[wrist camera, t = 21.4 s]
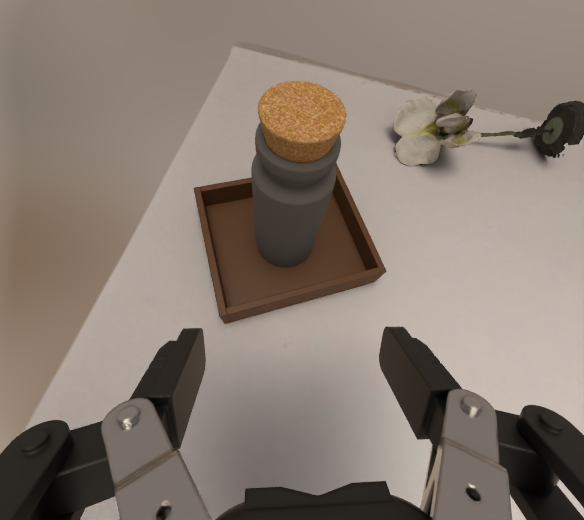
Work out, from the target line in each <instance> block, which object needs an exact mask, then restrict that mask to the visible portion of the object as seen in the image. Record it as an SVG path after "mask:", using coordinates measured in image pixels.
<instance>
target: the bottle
mask: <svg viewBox="0 0 584 520" xmlns="http://www.w3.org/2000/svg"><path fill="white" fill-rule="evenodd" d="M258 114H259V118H260V122H261V123H260V124H259V125H258V128H257V131H256V136H255V145H256V153H257V154H256V156H255V157H254V160H253V163H252V192H253V206H254V220H255V233H256V243H257V248H258V250H259V253H260V254H261V256H262V257H263V258H264V259H265V260H266V261H268V262H269V263H271V264H273V265H275V266H279V267H291V266H295V265H298V264H300V263H301V262H303V261H304V260H305V259H306V258H307V257H308V256H309V254H310V253H311V251H312V248H313V245H314V243H315V240H316V237H317V234H318V232H319V229H320V226H321V223H322V220H323V217H324V214H325V212H326V209H327V206H328V203H329V200H330V197H331V194H332V191H333V188H334V185H335V180H336V168H335V164H336V161H337V159H338V156H339V153H340V148H341V139H340V135H339V134H340V133H341V131H342V129H343V127H344V125H345V122H346V111H345V108H344V105H343V103H342V102H341V100H340V99H339V98H338V97H337V96H336V95H335V94H334V93H333V92H331V91H330V90H328V89H326V88H324V87H322V86H320V85H317V84H314V83H310V82H305V81H289V82H283V83H279V84H277V85H275V86H273V87H271V88H270V89H268V90H267V91H266V92H265V93H264V94H263V95H262V97H261V99H260V101H259V104H258Z"/></svg>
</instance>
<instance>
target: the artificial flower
mask: <svg viewBox="0 0 584 520" xmlns="http://www.w3.org/2000/svg"><path fill="white" fill-rule="evenodd" d="M475 98H476V94H475V92H473V91H472V90H468V91H460V90H455V91H454V92H452V93H451V94H450V95H449V96H448V97H446V98H445V99H444V100H442V102H441V103H440V104H439V105H438V106H437V107H436V105H435V103H433V102H432V100H430V99H428V98H426V97H422V98H420V99H418V100H416V101H406V102H405V103H404V105H403V106H401V107H400V108H399V109H398V110H397V112H396V115H395V118H394V122H393V128H394V130H395V131H396V133H397V134H399V135H401V137H402V138H401V139H400V140H399V141H398V143H397V144H396V146H395V148H396V153H395V157H396V158H397V157H398V158H399V161H400V162H401V163H402V164H404V165H408V166H414V165H418V164H432V163H434V162H435V161H436V160H437V158H438V157H439V152H440V148H441V145H444V146H445V147H449V148H456V147H459V146H466V145H468V144H471V143H474V142H476V141H478V140H479V139H480V138H481V137H487V136H505V135H513V136H514V137H518V138H520V139H521V138H527V137H533V136H535V140H534V141H535V143H536V144H539V148H540V149H541V153H542V154H544V155H547V156H549V157H550V156H553V158H555V157H556V155H557V154H558V158H559V156H560V154H559V153H561V152H562V151H563V150H564V149H565V147H564V146H563V145H564V144H565V143H568V145H576V144H579V143H580V140H581V139H582V138H583V135H584V103H582V102H580V101H572V102H567V103H562V104H559V105H557V106H556V107H554V109H553V110H552V111H551V112H550V114H549V115H548V117H547V120H545V121H544V123H543V124H542V125H541V127H539V126H538V127H537V129H535V128H529V129H526V130H523V131H522V132H513V131H506V132H500V133H493V134H491V133H485V134H484V133H479V132H474V131H468V130H467V129H468V127H469V126H470V125H471V124H472V121H473V119H472V118H469V116H465V115H466V113H467V112H468V111H469V109H470V108H471V107H472V105H473V103H474V101H475ZM466 117H467V118H466ZM396 154H397V156H396ZM563 155H564V154H563ZM563 155H562V156H563Z"/></svg>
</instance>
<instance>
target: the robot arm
mask: <svg viewBox="0 0 584 520" xmlns="http://www.w3.org/2000/svg"><path fill="white" fill-rule="evenodd" d="M205 362H206V358H205V347H204V336H203V330H202V328H191V329H183V330H182V331H181V333H180V335H179V337H178V339H177V341H169V342H167V343H166V344H165V345H164V346H163V347H161V348H160V349H159V350H158V352H157V354H156V355H155V357H154V360H153V361H152V362H151V364H150V366H149V369H147V371H146V372H145V374H144V376H143V377H142V379H141V381H140V383H139V384H138V386H137V388H136V389H135V391H134V393H133V394H132V396H131V398H130V399H129V400H128V401H125V402H123V403H121V404H119V405H118V406H116V407H115V408H113V409H112V410H111V411H110V412H109V413H108V414H107V415H106V417H105V418H104V420H103V421H101V422H98V423H95V424H91V425H88V426H84V427H81V428H77V429H74V430H71V431H70V429H69V426H68V425H67V423H66V422H64V421H61V420H52V421H47V422H43V423H40V424H38V425H36V426H33V427H31V428H30V429H28V430H26V431H25V432H23V433H22V434H20V435H19V436H18V437H16V438H15V439H14V440H13V441H12V442H11V443H10V444H9V445H8V446H7V447H6V448H5V450H4V451H3V452H2V453H1V454H0V520H80V518H81V516H82V514H83V512H84V510H85V508H86V507H88V506H91V505H94V504H96V503H99V502H101V501H104V500H107V499H109V498H112V497H114V496H115V497H116V501H117V506H118V510H119V514H120V519H121V520H212V519H211V517H210V515H209V513H208V511H207V509H206V507H205V505H204V502H203V500H202V498H201V496H200V494H199V492H198V490H197V488H196V486H195V483H194V481H193V479H192V477H191V475H190V473H189V471H188V469H187V467H186V464H185V462H184V460H183V458H182V456H181V454H180V452H179V450H178V449H180V447H181V443H182V440H183V437H184V434H185V431H186V428H187V425H188V422H189V418H190V415H191V412H192V409H193V406H194V403H195V400H196V396H197V393H198V390H199V387H200V384H201V381H202V378H203V374H204V371H205ZM379 362H380V367H381V370H382V372H383V374H384V376H385V378H386V379H387V381H388V383H389V385H390V387H391V389H392V391H393V393H394V395H395V397H396V399H397V401H398V403H399V405H400V407H401V409H402V411H403V413H404V414H405V416H406V418H407V420H408V422H409V424H410V426H411V428H412V430H413V432H414V434H415V436H416V438H417V439H430V441H431V443H432V444H433V445H432V448H431V452H430V458H429V463H428V469H427V475H426V480H425V486H424V491H423V497H422V502H421V506H420V509H419V508H418V507H416V506H415V505H413V504H412V503H410V502H408V501H406V500H404V499H402V498H399V497H396V496H394V495H390V492H389V489H388V486H387V484H386V481H379V482H360V483H351V484H348V485H346V486H343V487H341V488H338V489H335V490H333V491H330V492H328V493H325V494H322V495H312V494H308V493H304V492H300V491H296V490H292V489H288V488H284V487H268V488H250V489H246V490H245V502H243V503H241V504H238V505H236V506H234V507H232V508H230V509H229V510H227V511H226V512H224V513H223V514H222V515H220V516H219V517H218V518H217V519H216V520H512V513H511V502H510V495H511V497H512V498H513V500H514V501H515V503H516V504H517V506H518V507H519V509H520V510H521V512H522V513H523V515H524V516H525V518H526V519H527V520H584V518H583V517H582V515H581V514H580V513H579V512H578V510H577V509H576V508H575V507H574V506H573V504H572V503H571V502H570V501H569V499H568V498H567V497H566V496H565V495H564V493H563V492H562V491H561V490H560V488H559V487H558V486H557V483H558V481H559V479H560V480H561V481H562V482H563V483H564V485H565V486H566V487H567V488H568V489H569V491H570V492H571V493H572V494H573V495H574V497H575V498H576V499H577V500H578V501H579V502H580V504H581V505H582V506H583V508H584V435H583V434H582V433H581V432H580V431H579V430H578V429H577V428H576V427H574V426H573V425H572V424H571V423H570V422H569V421H568V420H566V419H565V418H564V417H562V416H561V415H559V414H557V413H555V412H554V411H551V410H549V409H547V408H544V407H541V406H536V405H528V406H525V407H524V408H523V409H522V412H521V414H520V415H515V414H511V413H507V412H502V411H498V410H494V408H493V407H492V406H491V405H490V403H488V402H487V401H486V400H485V399H484V398H482V397H481V396H479V395H477V394H476V393H473V392H471V391H468V390H464V389H462V388H461V387H460V385H459V384H458V383H457V382H456V381H455V379H454V378H453V377H452V376H451V374H450V373H449V372H448V371H447V370H446V368H445V367H444V366H443V365H442V363H441V364H440V361H439V360H438V359H437V357H436V356H434V354H433V353H432V351H431V350H430V349H429V348H428V346H427V345H425V344H424V343H422V342H421V341H420V340H418V339H417V338H412V337H411V336H410V334H409V333H408V332H407V330H406V329H405V328H404V327H385V329H384V331H383V337H382V342H381V348H380V354H379Z"/></svg>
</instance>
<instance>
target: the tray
mask: <svg viewBox="0 0 584 520" xmlns="http://www.w3.org/2000/svg"><path fill="white" fill-rule="evenodd" d="M335 168H336V180H335V185H334V188H333V191H332V194H331V197H330V200H329V203H328V206H327V209H326V212H325V214H324V217H323V220H322V223H321V226H320V229H319V232H318V234H317V237H316V240H315V243H314V245H313V248H312V251H311V253H310V254H309V256H308V257H307V258H306V259H305V260H304V261H303V262H301V263H300V264H298V265H295V266H291V267H279V266H275V265H273V264H271V263H269V262H268V261H266V260H265V259H264V258H263V257H262V256H261V254H260V253H259V250H258V248H257V243H256V233H255V220H254V206H253V192H252V178H247V179H241V180H235V181H230V182H224V183H218V184H213V185H207V186H202V187H196V188H194V192H195V197H196V202H197V207H198V212H199V217H200V222H201V227H202V232H203V237H204V242H205V246H206V251H207V256H208V261H209V266H210V271H211V276H212V281H213V286H214V291H215V296H216V301H217V306H218V311H219V316H220V317H221V319H222V320H223V322H224V323H225V324H226V323H230V322H233V321H237V320H240V319H244V318H248V317H251V316H255V315H258V314H262V313H265V312H269V311H273V310H276V309H280V308H283V307H287V306H291V305H294V304H298V303H301V302H305V301H308V300H312V299H316V298H319V297H323V296H326V295H330V294H334V293H337V292H341V291H344V290H348V289H352V288H355V287H359V286H362V285H366V284H369V283H373V282H375V281H376V280H377V279H378V278H380V277H381V276H382V275H383V274H384V273H385V272H386V269H385V267H384V265H383V263H382V261H381V258H380V256H379V254H378V252H377V250H376V248H375V245H374V243H373V241H372V239H371V237H370V235H369V233H368V230H367V228H366V226H365V224H364V222H363V220H362V218H361V215H360V213H359V211H358V209H357V207H356V205H355V202H354V200H353V198H352V196H351V194H350V192H349V190H348V187H347V185H346V183H345V181H344V179H343V177H342V175H341V172H340V170H339V168H338V166H337V164H335Z"/></svg>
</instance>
